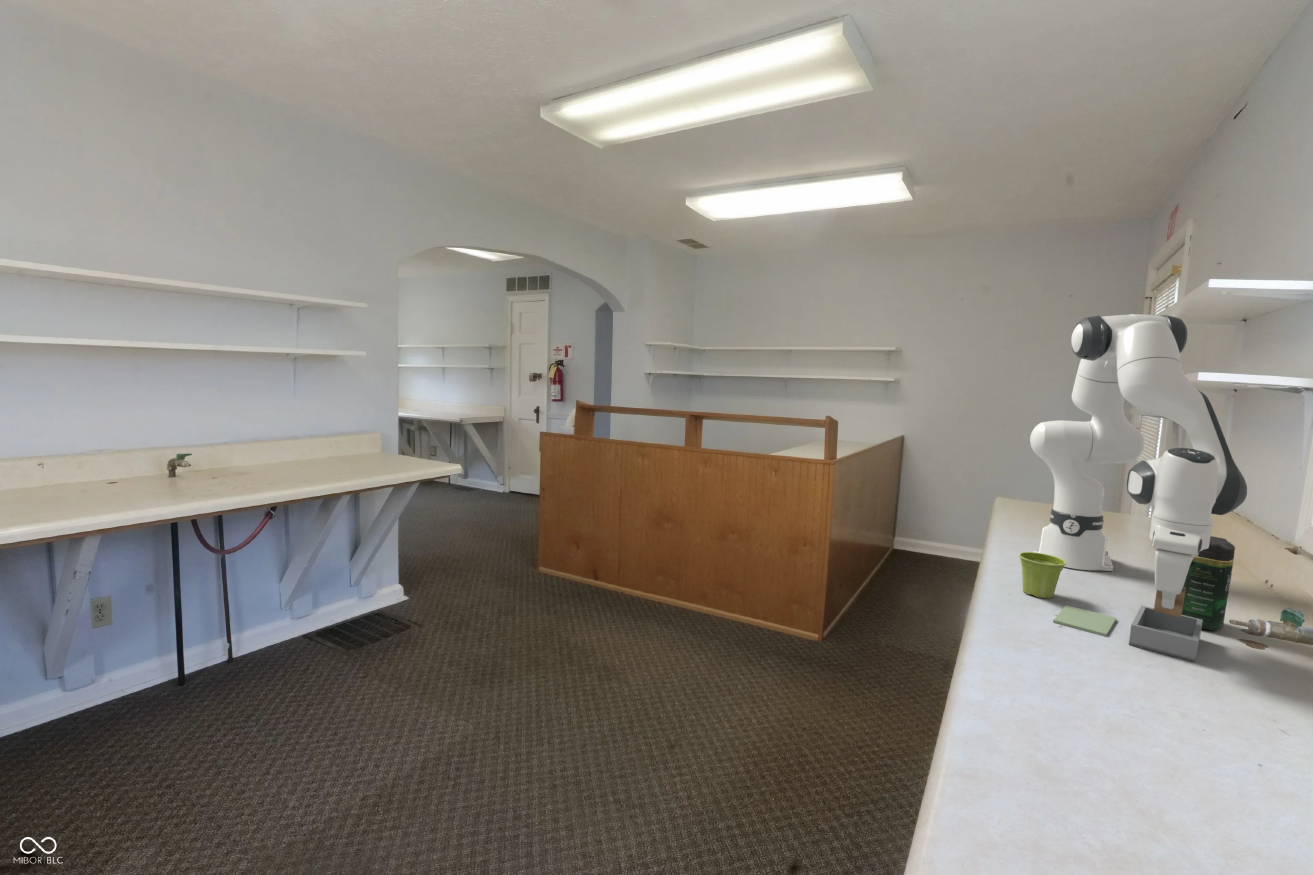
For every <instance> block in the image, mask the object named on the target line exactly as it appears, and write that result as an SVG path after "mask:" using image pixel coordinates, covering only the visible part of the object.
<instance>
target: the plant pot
mask: <svg viewBox="0 0 1313 875" xmlns="http://www.w3.org/2000/svg"><path fill="white" fill-rule="evenodd" d="M1018 557H1019V559H1020V563H1021V570H1022V571H1021V574H1022V579H1021V580H1022V591H1023V592H1024V593H1025V595H1026V594H1027V595H1029V596H1030V595H1032V596H1035V597H1036V598H1040V599H1041V598H1042V599H1051V598H1052V597H1054V595H1055V591H1056V588H1057V585H1058V582H1059V579H1060V576H1061V573H1062V571H1063V569H1064V568H1065V567H1064V566H1065V565H1066V561H1064V560H1063V559H1061V558H1058V557H1055V556H1051V555H1047V554H1042V553H1036V552H1033V551H1023V552H1020V553H1018Z"/></svg>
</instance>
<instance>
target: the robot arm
mask: <svg viewBox="0 0 1313 875" xmlns="http://www.w3.org/2000/svg"><path fill="white" fill-rule="evenodd" d="M1070 341H1071V348H1072V352H1073V354H1074V355H1075V356H1076V357H1077V358H1079V359H1080V361H1079V364H1078V368H1077V371H1076V375H1075V380H1074V384H1073V388H1072V392H1071V401H1072V403H1073V404H1074V405H1075V407H1076V408H1078V409H1079V410H1081V411H1082V412H1084V413H1086V414H1088V415H1090V416H1091V420H1089V421H1081V420H1080V421H1079V420H1077V421H1076V420H1061V419H1059V420H1049V421H1048V420H1047V421H1043V422H1040V423H1038V424H1037V425H1035V427H1034V428H1033V430H1032V431H1031V433H1030V436H1029V445H1030V448H1031V450H1032V451H1033V453H1034V454H1035V455H1036V456H1037V457H1039V459H1041V460H1042V461H1043V462H1044V463H1045V464H1046V466H1047V468H1049V470H1050V472H1051V474H1052V478H1053V484H1054V494H1053V495H1054V496H1053V507H1052V508H1051V511H1050V513H1049V521H1050V523H1049V524H1048V525H1045V526H1044V527H1042V531H1041V537H1040V543H1039V549H1035V550H1033V551H1032V552H1036V553H1042V554H1047V555H1051V556H1055V557H1058V558H1061V559H1063V560H1064V561H1066V565H1065V566H1064V567H1063V568H1069V569H1072V570H1073V569H1074V570H1081V571H1105V572H1114V566H1113V562H1112V559H1111V556H1110V555H1109V551H1108V550H1106V549H1107V540H1108V539H1107V538H1106V536H1105V535H1104V534H1103V532H1102V530H1103V527H1104V515H1103V508H1104V499H1105V488H1104V485H1103V484H1102V483H1101V481H1099V480H1098V479H1096V478H1094V477H1093V476H1091V475H1089V474H1087V473H1085V472H1084V470H1083V463H1087V464H1088V463H1090V464H1101V465H1102V464H1104V465H1106V464H1107V465H1117V464H1118V465H1119V464H1120V465H1122V464H1129V463H1134V462H1135V461H1137V460H1138V459H1139V458H1140V457H1141V455H1142V454H1143V452H1144V449H1145V439H1144V436H1143V434H1142V433H1141V431H1140V429H1138V428H1137V427H1135V426H1134V425H1133V424H1132V423H1131V421H1129V420H1128V418H1127V417H1126V414H1125V408H1124V406H1125V405H1124V404H1125V401H1127V402H1128V404H1129V403H1130V404H1131V405H1132V406H1134V407H1136V408H1138V409H1139V410H1142V411H1145V412H1148V413H1151V414H1155V415H1158V416H1161V417H1163V418H1165V419H1168V420H1170V421H1172V422H1174V423H1176V424H1177V425H1179V426H1181V427H1182V428H1183V430H1185V432H1186V433H1187V436H1188V437H1189V441H1190V443H1191V446H1192V448H1188V447H1173V448H1168V449H1166V450H1165V451H1164V452H1163V454H1162V455H1161V456H1160V457H1157V458H1152V459H1148V460H1144V459H1143V460H1141V461H1138V462H1137V463H1136V464H1135V465H1133V466H1132V467H1131V468H1130V469H1129V470H1128V473H1127V479H1126V491H1127V494H1128V495H1129V496H1130V498H1132V499H1133V501H1135V502H1136V503H1138V505H1143V506H1147V507H1151V508H1152V507H1153V508H1154V509H1153V512H1152V514H1151V519H1150V520H1151V521H1150V528H1149V534H1148V539H1150V541H1151V546H1152V548H1154V549H1155V551H1154V552H1155V553H1154V587H1155V589H1156V591H1157V590H1159V591H1162V607H1164V608H1168V609H1173V608H1174V604H1175V598H1176V594H1180V593H1181V591H1182V588H1183V586H1184V583H1185V579H1186V576H1187V573H1188V570H1189V567H1190V564H1191V562H1192V560H1193V558H1194V557H1195V556H1198V555H1199V552H1200V551H1202V550H1204V549H1208V548H1209V543H1210V536H1212V531H1213V530H1212V529H1213V523H1214V522H1213V516H1212V515H1216V516H1217V515H1218V516H1224V515H1226V514H1229V513H1230V512H1233V511H1234V510H1236V509H1238V507H1240V506H1241V505H1242V504H1243V503H1244V502H1245V501H1246V499H1247V495H1248V486H1247V481H1246V479H1245V477H1244V475H1243V473H1242V472H1241V471H1240V469H1239V468H1238V466H1237V464H1236V462H1235V461H1234V458H1233V456H1232V453H1231V451H1230V449H1229V445H1228V444H1227V440H1226V438H1225V435H1224V433H1223V429H1222V427H1221V425H1220V422H1219V419H1218V417H1217V414H1216V412H1215V410H1214V408H1213V405H1212V403H1211V401H1210V399H1209V398H1208V396H1207V395H1206V394H1205V393H1204V392H1203V391H1200V390H1198V388H1196V387H1195V386H1194V385H1193V383H1191V382H1190V380H1189V379H1188V377H1187V376H1186V374H1185V371H1184V369H1183V365H1182V364H1183V363H1182V358H1181V353H1182V352H1184V349H1185V347H1186V344H1187V341H1188V328H1187V324H1186V323H1185V322H1184V320H1182V318H1180V317H1177V316H1172V315H1165V314H1163V315H1153V314H1137V313H1135V314H1134V313H1131V314H1119V315H1118V314H1117V315H1115V314H1114V315H1105V316H1100V315H1094V316H1088V317H1087V316H1086V317H1084V318H1082V319H1080V321H1078V322H1077V323H1076V324H1075V327H1074V329H1073V331H1072V334H1071V339H1070Z"/></svg>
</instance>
